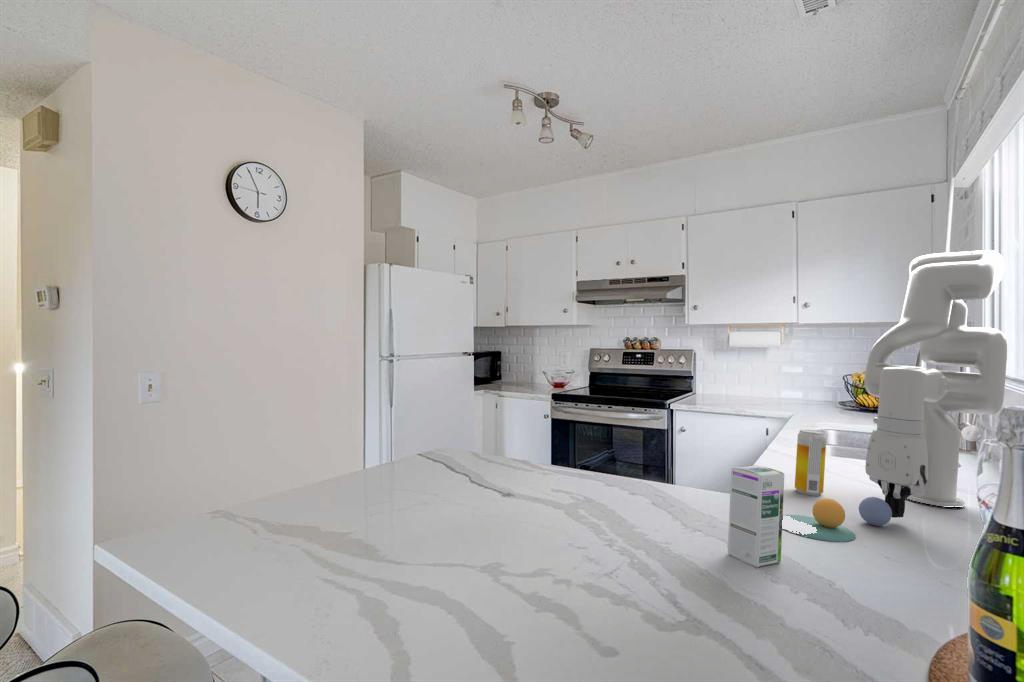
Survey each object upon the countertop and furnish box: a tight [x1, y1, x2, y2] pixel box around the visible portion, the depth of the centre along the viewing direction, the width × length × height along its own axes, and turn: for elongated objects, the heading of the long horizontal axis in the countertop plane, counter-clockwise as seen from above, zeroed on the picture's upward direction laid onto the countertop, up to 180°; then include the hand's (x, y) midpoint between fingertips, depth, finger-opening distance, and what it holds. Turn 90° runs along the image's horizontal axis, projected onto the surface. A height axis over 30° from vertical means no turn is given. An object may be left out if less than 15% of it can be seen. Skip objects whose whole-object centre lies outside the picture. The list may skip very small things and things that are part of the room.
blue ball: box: [858, 496, 893, 527], centre depth 106 cm, size 6×6×6 cm
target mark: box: [785, 514, 857, 543], centre depth 102 cm, size 14×14×1 cm
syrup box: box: [727, 464, 785, 568], centre depth 85 cm, size 6×6×14 cm
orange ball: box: [812, 498, 846, 528], centre depth 103 cm, size 6×6×6 cm
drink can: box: [794, 429, 827, 497], centre depth 128 cm, size 6×6×15 cm
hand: (894, 515), depth 108 cm, fingers closed
